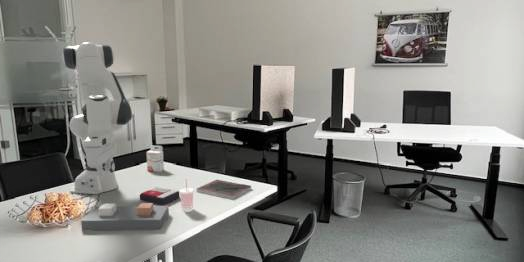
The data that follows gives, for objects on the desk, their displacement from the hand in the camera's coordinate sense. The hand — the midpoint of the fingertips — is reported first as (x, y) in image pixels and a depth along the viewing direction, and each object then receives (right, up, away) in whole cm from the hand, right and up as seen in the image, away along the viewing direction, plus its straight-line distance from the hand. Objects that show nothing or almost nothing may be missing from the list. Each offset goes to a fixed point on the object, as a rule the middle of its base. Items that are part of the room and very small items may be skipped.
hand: (104, 172), depth 146 cm
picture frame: (+43, -15, +41) cm, 61 cm away
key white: (0, -18, +3) cm, 18 cm away
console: (+8, -21, +4) cm, 22 cm away
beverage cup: (+29, -18, +16) cm, 38 cm away
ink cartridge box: (-1, -8, +75) cm, 75 cm away
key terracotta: (+15, -18, +4) cm, 24 cm away
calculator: (+14, -17, +29) cm, 36 cm away
